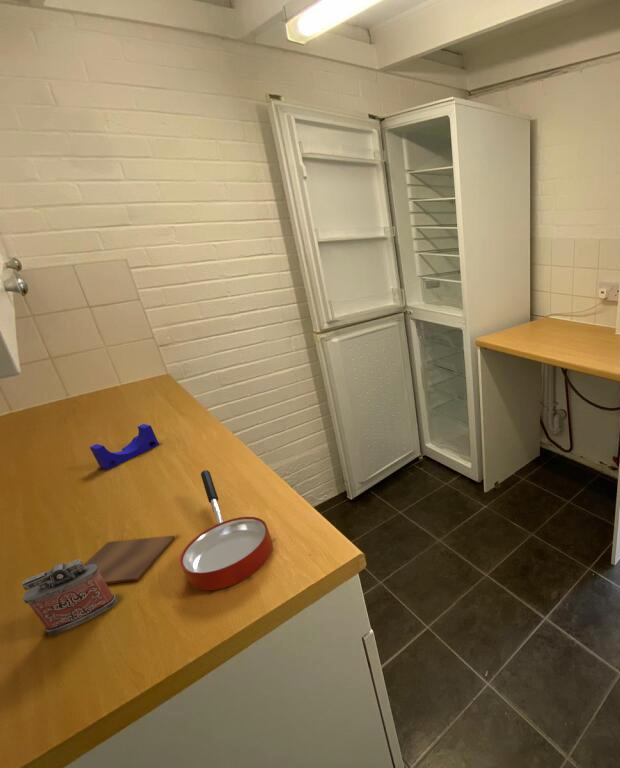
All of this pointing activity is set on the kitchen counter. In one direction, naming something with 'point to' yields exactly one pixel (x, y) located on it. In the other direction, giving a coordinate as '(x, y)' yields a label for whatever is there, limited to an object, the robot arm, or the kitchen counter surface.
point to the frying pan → (225, 548)
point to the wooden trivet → (128, 558)
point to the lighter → (68, 595)
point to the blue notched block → (126, 448)
